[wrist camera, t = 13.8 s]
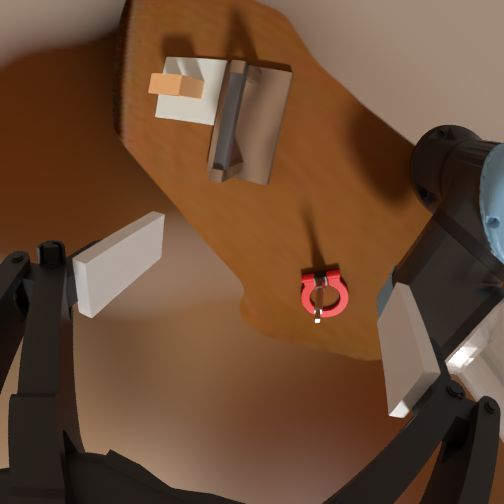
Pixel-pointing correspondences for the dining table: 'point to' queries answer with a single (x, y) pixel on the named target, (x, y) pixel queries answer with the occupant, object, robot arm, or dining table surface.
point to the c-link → (176, 85)
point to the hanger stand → (248, 123)
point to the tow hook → (319, 283)
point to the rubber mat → (194, 107)
